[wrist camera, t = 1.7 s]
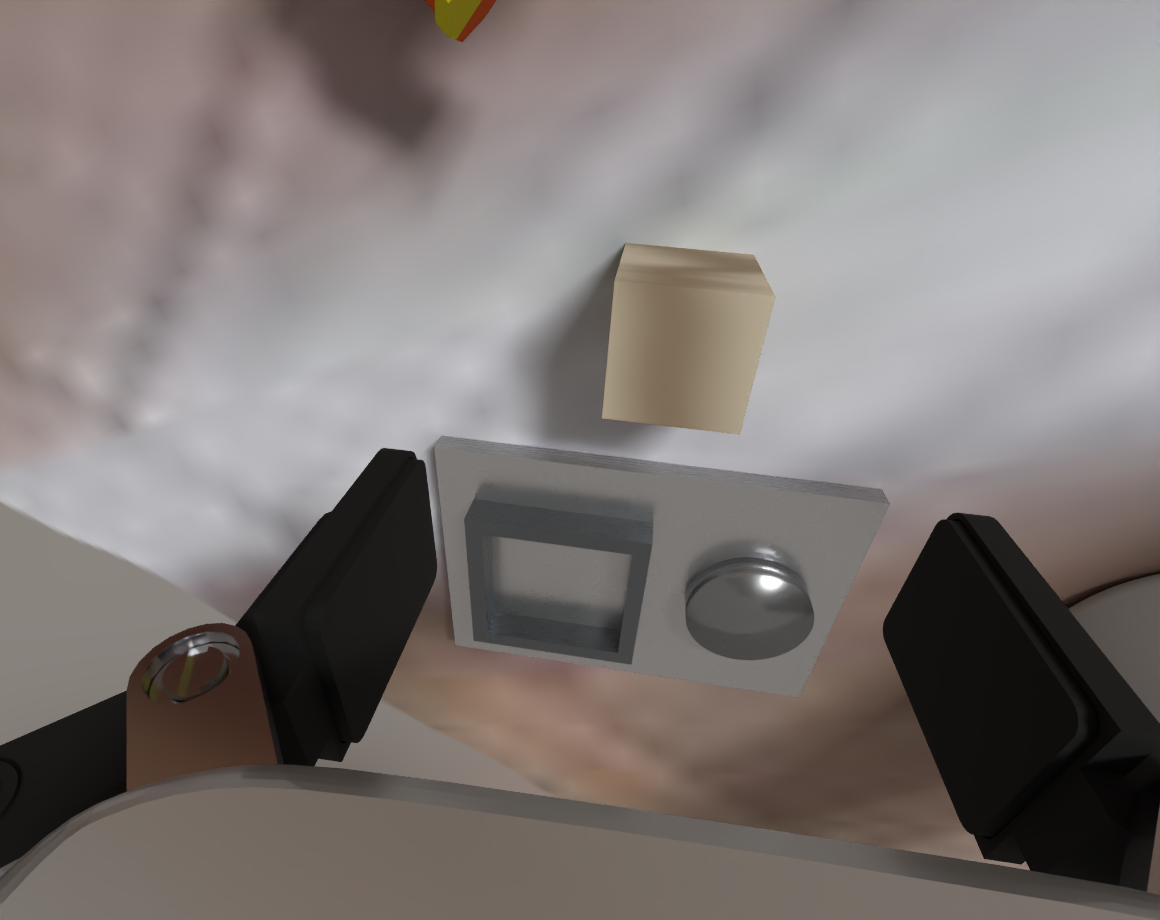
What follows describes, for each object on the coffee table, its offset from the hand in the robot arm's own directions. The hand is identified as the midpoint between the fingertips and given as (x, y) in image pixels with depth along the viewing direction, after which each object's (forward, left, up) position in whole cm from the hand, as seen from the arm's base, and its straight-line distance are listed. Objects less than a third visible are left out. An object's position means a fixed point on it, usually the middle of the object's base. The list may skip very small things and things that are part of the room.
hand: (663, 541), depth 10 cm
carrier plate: (0, +14, -13) cm, 19 cm away
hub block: (0, 0, -13) cm, 13 cm away
